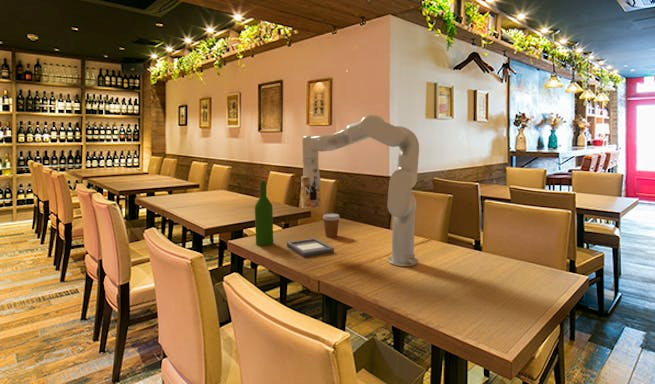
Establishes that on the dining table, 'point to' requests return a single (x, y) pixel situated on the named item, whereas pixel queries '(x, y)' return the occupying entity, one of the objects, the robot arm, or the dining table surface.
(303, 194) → the candy box
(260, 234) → the wine bottle
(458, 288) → the dining table surface
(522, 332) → the dining table surface
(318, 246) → the gray tray
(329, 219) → the disposable coffee cup
